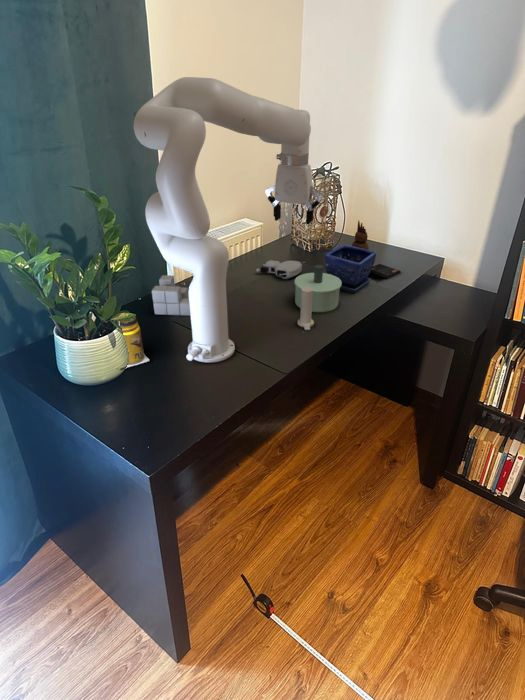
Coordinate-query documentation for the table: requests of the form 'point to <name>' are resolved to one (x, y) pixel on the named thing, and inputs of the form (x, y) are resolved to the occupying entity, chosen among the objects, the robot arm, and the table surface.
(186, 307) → the puzzle cube
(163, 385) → the table surface
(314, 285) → the lid
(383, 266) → the calculator
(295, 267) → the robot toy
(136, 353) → the condiment
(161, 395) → the table surface
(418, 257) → the table surface
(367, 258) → the flower pot
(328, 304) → the bowl
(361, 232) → the wooden figurine
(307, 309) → the beige flanged cylinder
